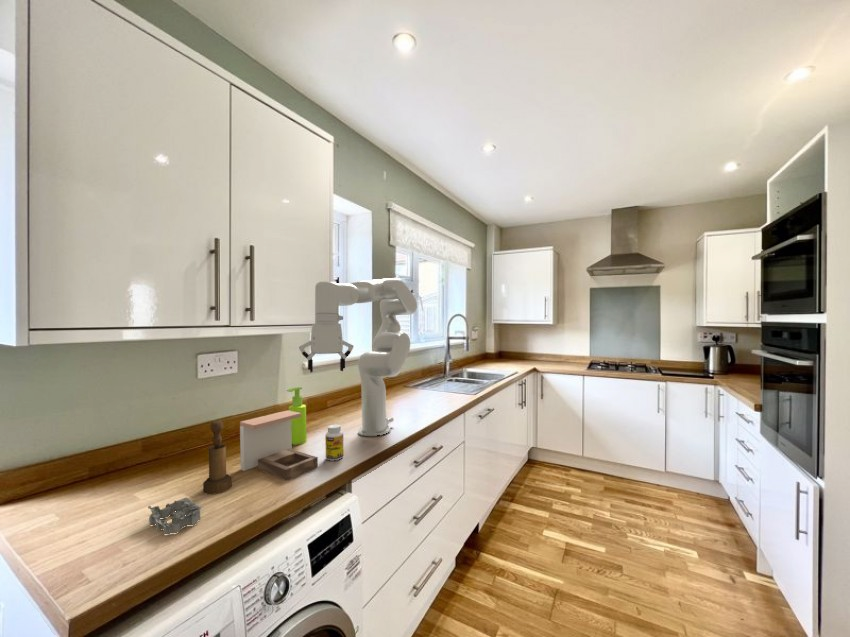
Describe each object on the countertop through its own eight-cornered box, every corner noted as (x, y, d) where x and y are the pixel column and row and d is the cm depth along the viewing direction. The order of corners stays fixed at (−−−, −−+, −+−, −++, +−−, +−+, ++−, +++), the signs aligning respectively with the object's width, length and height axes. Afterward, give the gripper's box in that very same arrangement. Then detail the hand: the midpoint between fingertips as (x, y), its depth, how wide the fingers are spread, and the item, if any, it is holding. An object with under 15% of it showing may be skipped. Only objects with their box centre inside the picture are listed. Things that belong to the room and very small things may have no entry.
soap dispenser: (283, 444, 128) (282, 388, 128) (298, 438, 134) (297, 385, 134) (295, 446, 125) (294, 389, 125) (309, 440, 131) (308, 386, 132)
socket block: (289, 458, 114) (289, 448, 114) (317, 467, 106) (317, 457, 106) (258, 469, 106) (257, 459, 106) (286, 480, 98) (286, 469, 98)
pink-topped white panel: (288, 452, 119) (287, 410, 120) (302, 457, 115) (301, 413, 115) (240, 469, 106) (239, 421, 106) (254, 474, 102) (253, 425, 102)
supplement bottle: (324, 462, 110) (323, 429, 111) (327, 455, 116) (327, 424, 116) (342, 461, 111) (341, 428, 111) (344, 454, 116) (344, 423, 117)
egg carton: (145, 524, 78) (145, 505, 78) (184, 509, 84) (184, 492, 84) (164, 540, 72) (164, 520, 72) (204, 523, 78) (204, 504, 78)
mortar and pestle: (237, 485, 95) (236, 418, 96) (215, 496, 89) (214, 425, 90) (220, 481, 98) (219, 416, 98) (197, 492, 92) (196, 422, 92)
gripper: (351, 320, 124) (351, 369, 123) (299, 319, 118) (298, 371, 117) (354, 319, 116) (354, 371, 116) (299, 318, 111) (298, 373, 110)
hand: (326, 371), depth 116 cm, fingers open, 9 cm apart
